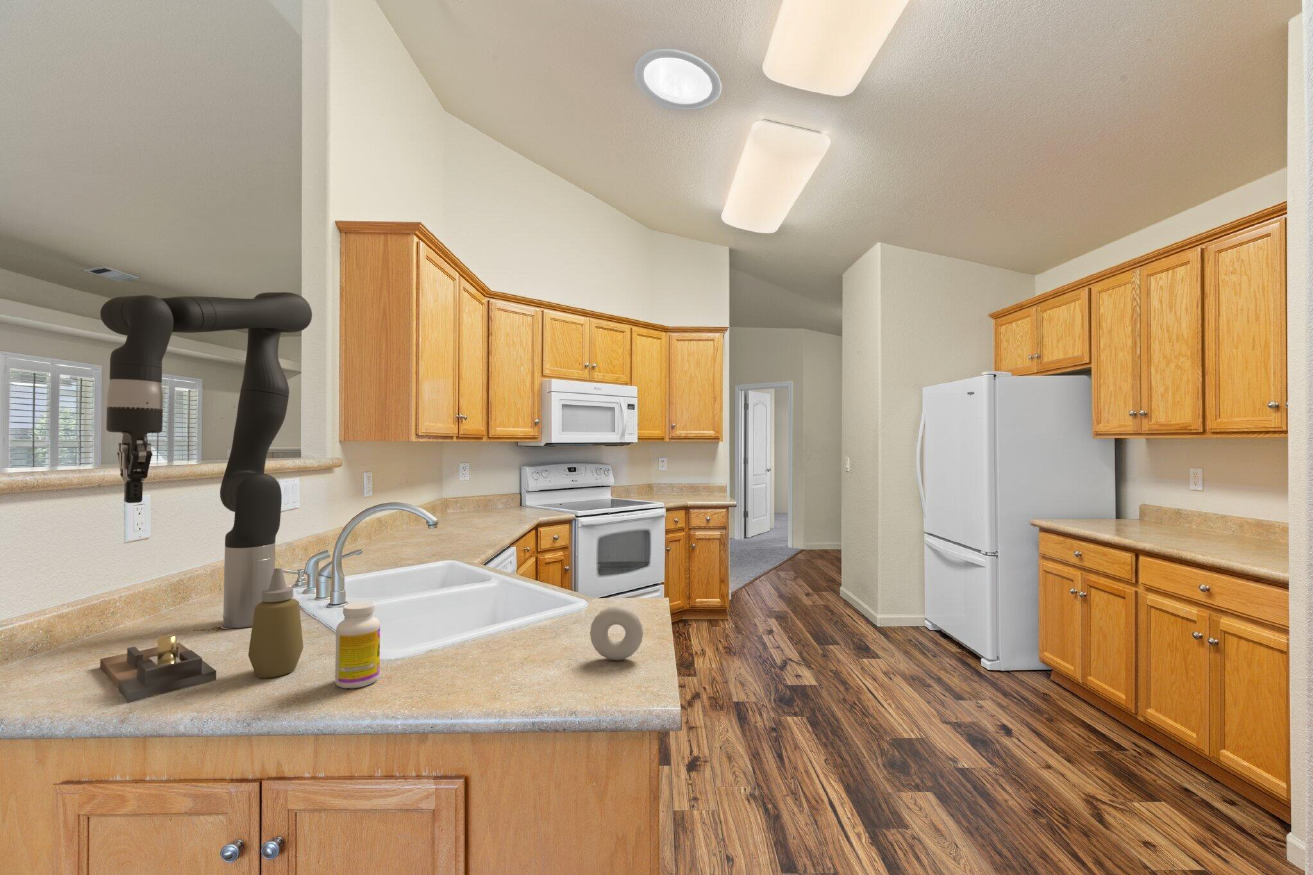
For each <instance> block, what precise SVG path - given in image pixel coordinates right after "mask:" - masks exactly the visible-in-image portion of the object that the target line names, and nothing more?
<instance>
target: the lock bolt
mask: <svg viewBox="0 0 1313 875" xmlns="http://www.w3.org/2000/svg"><path fill="white" fill-rule="evenodd" d="M177 637H178V636H177V634H175V633H171V634H165V635H161V636H158V637H157V647H158V649H157V656H154V657H150V658H149V659H151V660H152V661H153V662H154V663H155V664H156V665H157V666H158V667H159V666H163V665H168V664H172V663H176V662H181V660H180V659H179V658H177V657H176V643H178V642H177Z"/></svg>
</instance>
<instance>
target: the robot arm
mask: <svg viewBox="0 0 1313 875" xmlns="http://www.w3.org/2000/svg"><path fill="white" fill-rule="evenodd" d="M99 314H100V315H99V316H100V320H101V321H102V323H103V325H104V326H105V327H106V328H107V329H108V330H110V331H112V332H114V333H116V334H118V335H121V336H126V338H125V342H124V344H122V346H119V347H117V348H115V349H114V350H112V352H111V353H110V356H109V358H110V359H109V382H108V386H107V393H106V420H105V422H106V425H105V427H106V431H107V432H109V433H121V434H122V439H121V442H118V444H117V452H116V453H117V454H116V455H117V457H118V465H119V471H120V473H119V475H120V477H121V478H122V481H123V482H124V497H123V498H124V499H123V501H124V503H127V504H137V503H142V502H143V492H144V490H143V489H144V486H143V485H144V483H143V482H145V480H146V479H147V478H148V474H149V470H150V465H151V461H152V456H153V452H152V444H151V443H149V442H148V434H160V433H161V432H163V424H164V423H163V422H164V421H163V419H164V418H163V417H164V416H163V415H164V413H163V412H164V392H163V386H162V385H163V384H162V382H163V359H164V356H165V354H166V352H167V349H168V346H169V344H170V341H171V340H170V339H171V337H172V335H173V334H172V333H180V334H181V333H182V334H183V333H184V334H186V333H187V334H190V333H191V334H194V333H209V332H210V333H211V332H213V333H214V332H221V331H232V330H234V331H235V330H244V329H247V344H246V347H247V348H246V349H247V350H246V356H245V364H244V369H243V370H244V371H243V376H242V377H243V378H242V383H241V386H240V391H239V398H238V404H237V412H236V419H235V424H234V431H233V437H232V443H231V444H232V446H231V450H230V453H229V456H228V457H229V458H228V461H227V464H226V467H225V470H224V474H223V477H222V480H221V484H220V488H219V497H220V498H219V499H220V501H221V504H222V505H223V506H224V508H226V509H227V510H229V511H231V512H233V513H234V520H233V526H232V528H231V530H229V531H228V532H227V533H225V538H224V566H223V567H224V572H223V575H224V576H223V613H222V614H223V615H222V618H223V619H222V620H223V622H222V626H223V627H225V628H228V629H229V628H230V629H241V628H252V624H253V617H254V610H255V607H256V606H257V605H258V604H259V603H261V602H263V601H262V600H261V598H262V591H263V590H265V589H269V586H270V582H271V579H272V575H273V571H274V569H275V568H276V537H277V535H278V532H279V529H280V526H281V518H282V517H281V515H282V498H283V497H282V496H283V495H282V494H283V493H282V488H281V485H280V483H279V481H278V480H277V479H276V478H275V477H274V476H272V475H270V474H267V473H265V468H266V459H267V456H268V452H269V450H270V447H271V445H272V444H273V441H274V440H275V439H276V436H277V434H278V433H279V431H280V430H281V428H282V426H283V424H284V422H285V419H286V415H287V409H288V405H289V397H290V396H289V395H290V387H289V382H288V380H287V377H286V374H285V373H284V370H283V368H282V365H281V362H280V360H279V343H280V337H281V334H282V333H287V334H289V333H291V334H292V333H298V332H301V331H304V330H305V329H307V328H308V327H309V326H310V324H311V322H312V318H313V312H312V307H311V305H310V303H309V301H307V300H306V298H305V297H303V296H301V295H300V294H298V293H295V292H288V291H287V292H286V291H280V292H276V291H274V292H269V291H267V292H262V293H259V294H256V296H254V298H238V297H237V298H235V297H220V296H191V295H190V296H187V295H186V296H183V295H182V296H181V295H180V296H171V297H164V298H162V297H158V296H155V295H146V294H143V295H128V296H127V295H125V296H117V297H113V298H110V299H109V300H107V301H105V302H104V304H103V305H102V306H101V309H100V311H99Z"/></svg>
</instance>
